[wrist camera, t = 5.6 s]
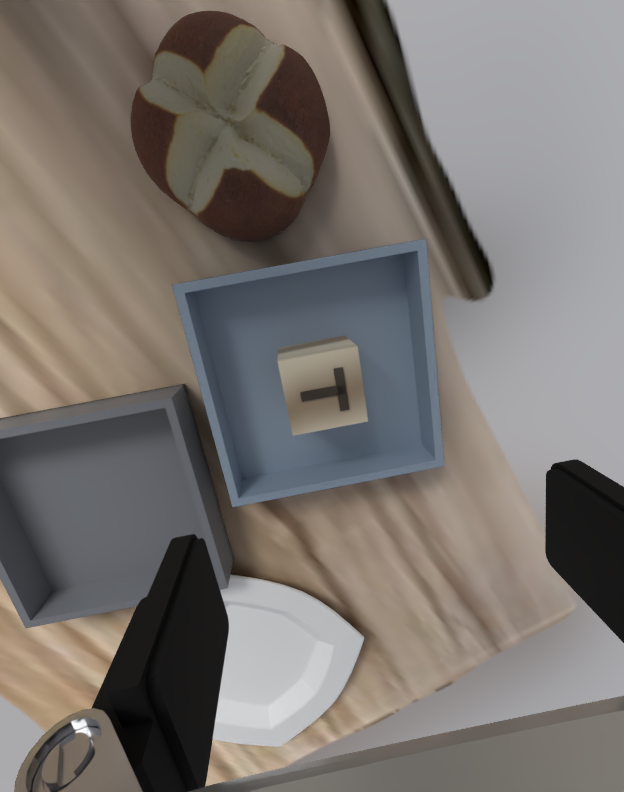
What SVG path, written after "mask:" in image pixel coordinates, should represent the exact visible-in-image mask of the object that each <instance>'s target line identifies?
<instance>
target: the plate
mask: <svg viewBox="0 0 624 792" xmlns="http://www.w3.org/2000/svg"><path fill="white" fill-rule="evenodd" d="M220 592H221V595H222V598H223V602H224V605H225V608H226V612H227V615H228V620H229V633H228V640H227V646H226V653H225V660H224V666H223V673H222V679H221V686H220V693H219V699H218V706H217V712H216V719H215V726H214V732H213V739H215V740H220V741H226V742H232V743H238V744H249V745H259V746H273V747H280V746H282V745H283V744H284V743H286V742H287V741H289V740H290V739H292V738H293V737H294V736H296V735H297V734H298V733H300V732H301V731H302V730H304V729H305V728H306V727H308V726H309V725H310V724H311V723H313V722H314V721H315V720H316V719H317V718H318V717H320V716H321V715H322V714H323V713H324V712H325V711H326V710H327V709H328V708H329V707H330V706H331V705H332V704H333V703H334V702H335V701H336V699H337V698H338V696H339V694H340V693H341V691H342V690H343V688H344V687H345V685H346V683H347V681H348V679H349V677H350V675H351V673H352V671H353V668H354V666H355V663H356V661H357V658H358V656H359V653H360V650H361V647H362V644H363V641H364V636H363V635H362V634H360V633H359V632H358V631H357V630H356V629H355V628H354V627H353V626H352V625H350V624H349V623H348V622H347V621H346V620H345V619H343V618H342V617H341V616H340V615H339V614H338V613H336V612H335V611H334V610H333V609H331V608H330V607H328V606H327V605H325V604H324V603H323V602H321V601H320V600H318V599H316V598H314V597H312V596H311V595H309V594H307V593H305V592H303V591H301V590H298V589H295V588H292V587H290V586H287V585H284V584H280V583H276V582H272V581H267V580H263V579H258V578H251V577H245V576H239V575H232V574H230V580H229V586H228V588H226V589H221V590H220Z"/></svg>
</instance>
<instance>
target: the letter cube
mask: <svg viewBox="0 0 624 792" xmlns="http://www.w3.org/2000/svg"><path fill="white" fill-rule="evenodd" d="M277 362H278V367H279V371H280V376H281V381H282V386H283V391H284V396H285V401H286V406H287V410H288V415H289V420H290V425H291V430H292V435H293V436H295V435H300V434H305V433H310V432H315V431H321V430H326V429H331V428H336V427H342V426H347V425H352V424H357V423H363V422H368V416H367V409H366V402H365V395H364V388H363V381H362V373H361V366H360V359H359V352H358V346H357V345H356V344H354V343H353V342H352V341H351V340H350V339H349V338H348V337H346V336H345V335H344V336H338V337H333V338H328V339H322V340H317V341H312V342H306V343H301V344H295V345H290V346H285V347H279V348H278V360H277Z"/></svg>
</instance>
